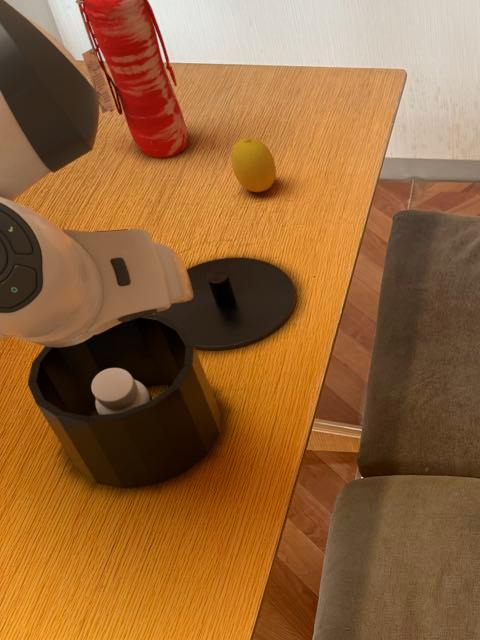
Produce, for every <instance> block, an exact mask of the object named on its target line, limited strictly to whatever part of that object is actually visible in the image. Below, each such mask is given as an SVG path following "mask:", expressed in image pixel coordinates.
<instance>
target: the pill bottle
mask: <svg viewBox="0 0 480 640" xmlns="http://www.w3.org/2000/svg"><path fill="white" fill-rule="evenodd" d="M91 389H92V393H93V394H94V396H95V398H96V400H95V405H96V411H97V414H98V415H105V414H114V413H121V412H124V411H127V410H129V409H132V408H134V407H137V406H139V405H142V404H145V403H147V402H150V401H151V400H153V399H154V398H153V397H152V396H151V393H150V392H149V390H148V389H147V387H145V386H144V385H143V384H142V383H140V382H139V381H137V380H134V379H133V378H132V376H131V375H130V374H129V373H128V372H127V371H126V370H123V369H120V368H109V369H106V370H103V371H101V372H100V373H99V374H97V375H96V376H95V378H94V379H93V381H92V385H91Z"/></svg>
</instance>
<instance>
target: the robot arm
mask: <svg viewBox="0 0 480 640" xmlns="http://www.w3.org/2000/svg"><path fill="white" fill-rule="evenodd" d="M99 121H100V104H99V95H98V94H97V92H96V91H95V89H94V87H93V84H92V82H91V79H90V77H89V76H88V73H86V71H85V70H84V68H83V67H82V65H81V63H79V62H78V60H77V59H76V57H74V55H73V54H72V53H71V52H70V51H69V50H68V49H67V48H66V46H64V44H62V43H61V42H60V41H59V40H58V39H57V38H56V37H54V36H53V34H51V32H49V31H47V30H46V29H45V28H43V27H42V26H41V25H39V24H38V23H36V22H35V21H33V20H32V19H30V18H29V17H27V16H26V15H24V14H23V13H21V12H20V11H18V9H16V8H14V6H13V5H11V4H10V3H9V2H7V1H6V0H0V341H2V340H8V339H12V338H16V339H18V340H20V341H21V340H22V341H25V342H28V343H31V344H34V345H38V346H43V347H45V346H47V347H68V346H72V345H76V344H79V343H81V342H84V341H86V340H87V339H89V338H90V337H92V336H93V335H97V334H100V333H102V332H104V331H106V330H108V329H110V328H112V327H114V326H116V325H118V324H120V323H122V322H127V321H130V320H133V319H136V318H139V317H143V316H147V315H150V314H155V313H157V312H159V311H163V310H167V309H168V308H169V307H170V306H171V304H175V303H182V302H187V301H190V300H192V299H193V297H194V294H193V290H192V286H191V282H190V279H189V276H188V273H187V266H186V264H185V261H184V260H183V258H182V257H181V256H180V255H179V253H178V252H176V251H175V250H174V249H173V248H171V247H170V246H168V245H167V244H164V243H161V242H156V241H153V239H152V237H151V234H150V232H149V231H148V230H146V229H143V228H132V229H129V228H128V229H127V228H126V229H125V228H123V229H113V230H111V229H110V230H94V231H91V230H90V231H89V230H77V229H69V228H61V227H59V226H58V225H56V224H55V223H54V222H53V221H51V220H49V219H48V218H47V217H45V216H43V215H42V214H40V213H38V212H37V211H34V210H33V209H32V208H31V209H30V207H29V208H28V207H27V206H25V205H23V204H21V203H19V202H16V200H17V199H18V198H19V197H21V196H22V195H23V194H25V193H26V192H27V191H29V190H30V189H31V188H33V187H34V186H35V185H37V184H38V183H40V182H41V181H42V180H43V179H45V177H48V175H50V174H51V173H54V174H55V173H57V172H58V171H61V170H62V169H64V168H65V167H66V166H68V165H70V164H71V163H73V162H75V161H76V160H78V159H80V158H81V157H83V156H85V155H86V154H88V153H90V152H92V151H93V150H94V147H95V143H96V139H97V136H98V135H97V133H98V128H99Z"/></svg>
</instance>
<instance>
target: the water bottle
mask: <svg viewBox="0 0 480 640" xmlns="http://www.w3.org/2000/svg"><path fill="white" fill-rule="evenodd" d="M75 3H76V4H77V6H78V11H79V12H80V16H81V19H82V22H83V26H84V29H85V31H86V35H87V38H88V40H89V43H90V46H91V48H90V49H89V50H86V51H85V52H83V53H81V56H82V58H83V61H84V65H85V66H86V70H87V72H88V73H87V74H88V75H89V76H88V77H89V79H90V81H91V84H92V86H93V88H94V89H95V91H96V92H97V94H98V95H99V108H100V110H101V113H102V114H105V113H107V112H110V113H112V112H113V111H115V108H116V112H117V114H118V115H120V116H122V115H123V114H124V117H125V121H126V123H127V128H128V129H129V131H130V134H131V136H132V140H133V142H134V144H136V146H137V147H138V148H139V149H140V151H141V152H142V153H144V154H145V155H147V156H148V157H150V158H157V159H165V158H170V157H174V156H176V155H177V154H181V153H182V152H183V151H184V150H185V148H186V147H187V146H188V129H187V125H186V122H185V117H184V115H183V111H182V108H181V106H180V103H179V101H178V98H177V95H176V92H175V91H174V88H173V86H174V87H178V84H177V80H176V75H175V72H174V69H173V66H171V65H170V64H171V63H170V59H169V55H168V52H167V48H166V45H165V42H164V38H163V35H162V32H161V30H160V26H159V24H158V21H157V18H156V16H155V13H154V10H153V7H152V6H151V4H150V1H149V0H75ZM159 43H160V44H159ZM160 46H161V48H162V52H163V55H164V60H165V63H164V60H163V57H162V52H161V48H160ZM104 60H105V63H106V65H107V67H108V69H109V71H110V74H111V76H110V74H109V72H108V71H107V67H106V65H105V63H104ZM165 64H166V65H165ZM167 71H168V72H169V75H170V78H171V80H172V82H173V85H172V83H171V81H170V78H169V76H168V73H167ZM104 76H105V77H104ZM105 78H106V79H105ZM106 81H107V82H106ZM107 84H108V85H107ZM108 87H109V88H108ZM109 90H110V91H109ZM110 93H111V94H110ZM112 99H113V100H112ZM113 102H114V103H113Z"/></svg>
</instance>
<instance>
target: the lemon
mask: <svg viewBox="0 0 480 640" xmlns="http://www.w3.org/2000/svg"><path fill="white" fill-rule="evenodd" d="M231 151H232V152H231V165H232V171H233V173H234V176H235V178H236V180H237V181H238V183H239V184H240V185H241V186H242V187H243V188H245V189H246V190H247V191H250V192H254V193H262V192H265V191H267V190H269V189H270V188H271V187H272V186H273V184H274V182H275V180H276V175H277V168H276V162H275V160H274V157H273V155H272V152H271V150H270V149H269V147H268V146H267V145H266V144H265V143H264V142H262V141H261V140H260V139H258V138H254V137H249V136H246V137H244V138H243V139H240V140H239V141H238V142H236V144H235V145H234V146H233V149H232V150H231Z"/></svg>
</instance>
